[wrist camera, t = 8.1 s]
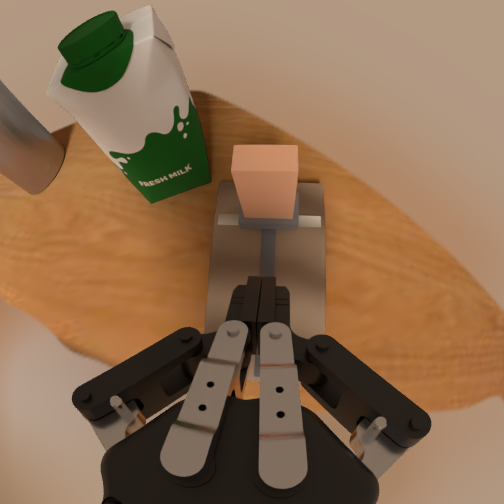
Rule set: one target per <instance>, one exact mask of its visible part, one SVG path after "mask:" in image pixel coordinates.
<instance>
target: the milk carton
mask: <svg viewBox="0 0 504 504" xmlns="http://www.w3.org/2000/svg"><path fill="white" fill-rule="evenodd" d="M58 49H59V51H60V52H61V54H62V56H61V58H60V59H59V61H58V64H57V67H56V69H55V72H54V74H53V76H52V79H51V81H50V84H49V86H48V89H47V92H46V94H47V95H48V96H49V97H50V98H52V99H53V100H54V101H55V102H56V103H58V104H59V105H60V106H61V107H62V108H64V109H65V110H66V111H67V112H68V113H70V114H71V115H72V116H73V117H74V118H75V119H76V120H77V122H78V123H79V124H80V125H81V126H82V127H83V129H84V130H85V131H86V132H87V133H88V134H89V136H90V137H91V138H92V139H93V140H94V141H95V142H96V144H97V145H98V146H99V147H100V148H101V149H102V150H103V151H104V153H105V154H106V155H107V156H108V157H109V158H110V159H111V160H112V162H113V163H114V164H115V165H116V166H117V167H118V168H119V169H120V170H121V172H122V173H123V174H124V175H125V176H126V177H127V178H128V179H129V181H130V182H131V183H132V184H133V185H134V186H135V187H136V188H137V189H138V190H139V191H140V192H141V193H142V194H143V196H144V197H145V198H146V199H147V200H148V201H149V202H150V203H151V204H152V203H155V202H157V201H160V200H162V199H165V198H168V197H170V196H173V195H176V194H178V193H181V192H184V191H187V190H189V189H192V188H195V187H198V186H201V185H203V184H206V183H209V182H211V177H210V171H209V165H208V159H207V153H206V147H205V141H204V137H203V132H202V128H201V124H200V120H199V116H198V113H197V110H196V107H195V104H194V102H193V99H192V96H191V93H190V91H189V88H188V85H187V82H186V79H185V77H184V74H183V71H182V69H181V66H180V63H179V60H178V58H177V56H176V53H175V51H174V46H173V42H172V40H171V37H170V35H169V34H168V32H167V30H166V29H165V27H164V25H163V24H162V22H161V21H160V20H159V19H158V17H157V15H156V13H155V11H154V9H153V7H152V5H148V6H145V7H143V8H140V9H138V10H135V11H133V12H130V13H128V14H126V15H124V16H121V17H120V18H119V17H118V15H117V13H116V12H115V11H108V12H105V13H102V14H99V15H97V16H95V17H93V18H91V19H89V20H87V21H86V22H84V23H83V24H81V25H80V26H78V27H77V28H75V29H74V30H73V31H71V32H70V33H69V34H68V35H67V36H66V37H65V38H64V39H63V40H62V41H61V42H60V44H59V45H58Z"/></svg>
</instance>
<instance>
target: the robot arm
mask: <svg viewBox="0 0 504 504" xmlns="http://www.w3.org/2000/svg"><path fill="white" fill-rule="evenodd" d="M63 159H64V148H63V146H62V145H61V144H60V143H59V142H58V141H57V140H56V139H55V138H54V137H53V136H52V135H51V134H50V133H49V132H48V131H47V130H46V129H45V128H44V127H43V126H42V124H40V122H39V121H38V120H37V119H36V118H35V117H34V116H33V115H32V114H31V113H30V112H29V111H28V110H27V109H26V108H25V107H24V106H23V104H22V103H21V102H20V101H19V100H18V99H17V98H16V97H15V96H14V95H13V94H12V93H11V92H10V90H9V89H8V88H7V87H6V86H5V85H4V84H3V83H2V81H0V173H1V174H3V175H4V176H6V177H7V178H8V179H10V180H11V181H12V182H14V183H15V184H17V185H18V186H19V187H21V188H22V189H24V190H25V191H27V192H28V193H30V194H37V193H39V192H41V191H42V190H43V189H45V188H46V187H47V186H48V185H49V184H50V182H51V181H52V180H53V179H54V177H55V176H56V174H57V172H58V171H59V169H60V167H61V164H62V162H63ZM257 346H258V355H260V398H257V399H250V400H243V394H244V390H245V386H246V382H247V377H248V373H249V369H250V362H251V356H252V355H257ZM298 381H299V382H301V385H302V386H303V387H304V389H305V390H306V391H307V392H308V393H309V394H310V395H311V396H313V397H314V398H315V399H316V400H317V401H318V402H319V403H320V404H321V405H322V406H323V407H324V408H325V409H326V410H327V411H328V412H329V413H330V414H331V415H332V416H333V417H334V418H335V419H336V420H337V421H338V422H339V423H340V424H341V425H343V426H344V427H345V428H346V429H347V430H348V431H349V432H350V433H351V434H352V435H351V437H350V446H351V448H352V449H353V450H354V452H355V454H356V455H355V454H354V453H353V452H352V451H351V450H350V449H349V448H348V447H347V446H346V445H345V444H344V443H343V442H341V440H340V439H339V438H338V437H337V436H336V435H335V434H334V433H333V432H332V431H331V430H330V429H329V428H328V427H327V425H326V424H325V423H324V422H323V421H322V420H321V419H320V418H319V417H318V416H317V415H316V414H315V413H314V412H312V411H311V410H309V409H308V408H305V407H303V406H301V402H300V391H299V382H298ZM187 392H188V394H187V396H186V399H184V400H182V401H180V402H178V403H176V404H175V405H173V406H172V407H170V408H169V409H168V410H166V411H165V412H163V413H162V414H160V415H159V416H157V417H156V418H154V419H153V420H152V421H150V422H149V423H147V424H146V419H148V418H149V417H151V416H152V415H154V414H156V413H157V412H159V411H160V410H162V409H163V408H165V407H166V406H168V405H169V404H171V403H172V402H174V401H175V400H177V399H178V398H180V397H181V396H183V395H184V394H186V393H187ZM72 402H73V404H74V406H75V407H76V408H77V409H78V410H79V411H80V413H81V414H82V415H83V417H84V418H85V419H86V420H87V421H88V422H89V423H90V424H91V426H92V427H93V429H94V431H95V433H96V435H97V436H98V438H99V440H100V442H101V443H102V445H103V447H104V448H105V450H106V453H105V454H104V456H103V458H102V461H101V475H102V479H103V486H104V497H103V501H102V504H376V502H377V500H378V496H379V483H378V479H379V478H380V477H381V476H382V475H383V474H384V473H385V472H386V471H387V470H388V469H389V468H390V467H391V466H392V465H393V464H394V463H395V462H396V461H397V460H398V459H399V457H401V456H402V455H403V454H405V453H406V452H407V451H408V450H409V449H411V448H412V447H413V446H414V445H415V444H417V443H418V442H419V441H420V440H421V439H422V438H423V437H424V436H426V435H427V434H428V432H429V431H430V428H431V419H430V417H429V415H428V414H427V413H426V412H425V411H424V410H422V409H421V408H420V407H419V406H417V405H416V404H415V403H413V402H412V401H411V400H410V399H408V398H407V397H406V396H405V395H403V394H402V393H401V392H399V391H398V390H397V389H396V388H394V387H393V386H392V385H391V384H389V383H388V382H387V381H386V380H384V379H383V378H382V377H381V376H379V375H378V374H377V373H376V372H374V371H373V370H372V369H371V368H369V367H368V366H367V365H366V364H364V363H363V362H362V361H361V360H359V359H358V358H357V357H356V356H354V355H353V354H352V353H351V352H349V351H348V350H347V349H346V348H345V347H343V346H342V345H341V344H340V343H338V342H337V341H336V340H335V339H333V338H332V337H330V336H328V335H323V334H320V335H315V336H313V337H311V338H310V339H306V338H302V337H299V336H297V335H296V334H295V333H294V332H293V331H292V330H291V327H290V292H289V290H288V289H287V287H286V286H276V277H269V276H263V279H262V276H248V280H247V285H238V286H237V287H236V288H235V289H234V290H233V292H232V296H231V300H230V304H229V308H228V312H227V316H226V320H225V322H224V323H223V324H221V325H220V327H219V328H218V330H217V331H215V332H212V333H207V334H200V332H199V331H198V330H197V329H195V328H191V327H185V328H181V329H179V330H177V331H175V332H174V333H172V334H170V335H168V336H167V337H165V338H163V339H162V340H160V341H158V342H157V343H155V344H153V345H151V346H150V347H148V348H146V349H145V350H143V351H141V352H139V353H138V354H136V355H134V356H132V357H131V358H129V359H127V360H125V361H124V362H122V363H120V364H118V365H117V366H115V367H113V368H111V369H110V370H108V371H106V372H104V373H102V374H101V375H99V376H97V377H95V378H93V379H92V380H90V381H88V382H86V383H84V384H82V385H81V386H79V387H78V388H76V390H75V391H74V392H73V395H72ZM145 424H146V425H145Z"/></svg>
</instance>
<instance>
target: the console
mask: <svg viewBox="0 0 504 504" xmlns="http://www.w3.org/2000/svg"><path fill="white" fill-rule="evenodd" d="M296 193H298V194H299V226H298V230H284V229H245V228H240V227H239V224H238V220H239V207H240V200H239V197H238V194H237V190H236V187H235V183H234V182H219V186H218V194H217V202H216V211H215V220H214V229H213V238H212V248H211V258H210V269H209V280H208V292H207V304H206V317H205V332H204V334H207V333H212V332H215V331H217V330H218V328H219V327H220V325H221V324H223V323H224V322H225V320H226V316H227V312H228V308H229V304H230V300H231V296H232V292H233V290H234V289H235V288H236V287H237V286H238V285H247V280H248V276H262V279H263V276H269V277H276V286H286V287H287V289H288V290H289V292H290V327H291V330H292V331H293V332H294V333H295V334H296V335H297V336H299V337H302V338H306V339H310V338H311V337H313V336H315V335H320V334H323V335H325V309H326V241H325V212H324V193H323V184H318V183H297V188H296ZM247 381H250V382H260V355H258V346H257V355H252V356H251V362H250V369H249V373H248V377H247ZM298 382H299V381H298ZM299 384H301V382H299Z"/></svg>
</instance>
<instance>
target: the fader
mask: <svg viewBox="0 0 504 504" xmlns="http://www.w3.org/2000/svg"><path fill="white" fill-rule="evenodd" d="M231 173H232V176H233V180H234V183H235V187H236V190H237V194H238V197H239V200H240V207H239V220H238V224H239V227H240V228H245V229H284V230H298V226H299V194H298V193H296V188H297V180H298V145H234V149H233V157H232V166H231Z"/></svg>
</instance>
